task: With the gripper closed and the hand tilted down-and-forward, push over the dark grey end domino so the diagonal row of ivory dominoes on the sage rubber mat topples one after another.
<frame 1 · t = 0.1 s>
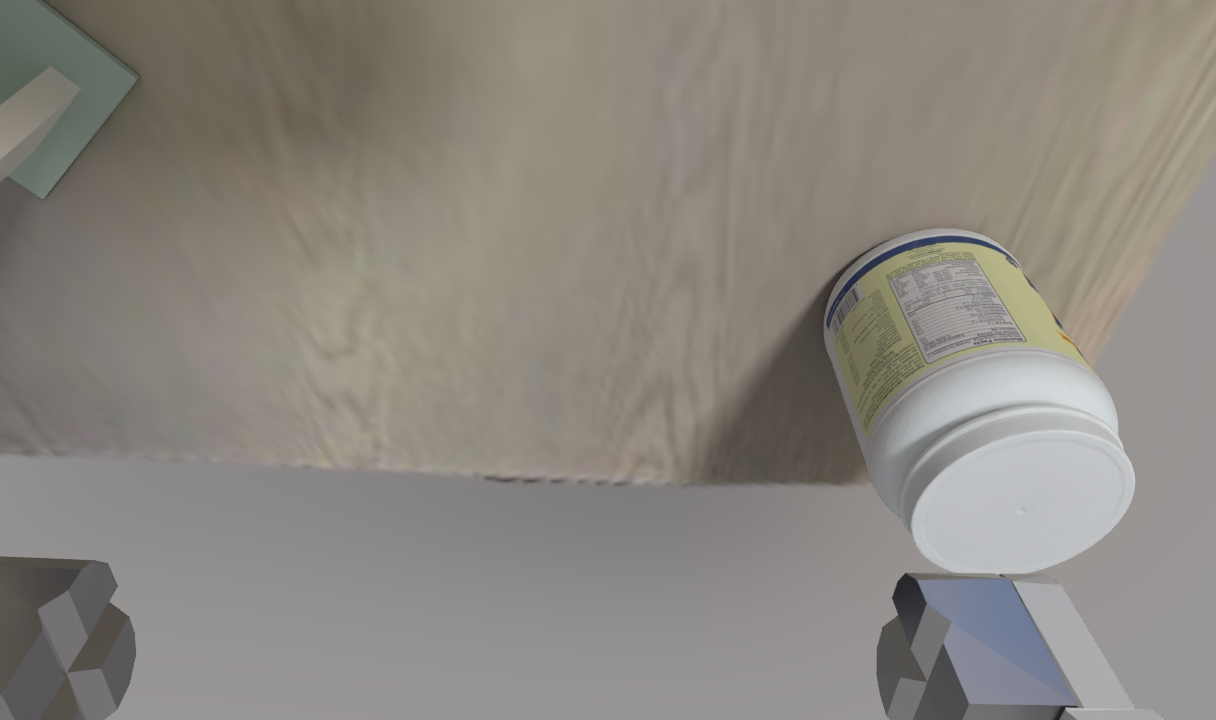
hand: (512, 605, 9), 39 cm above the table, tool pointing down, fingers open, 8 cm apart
domino 5: (42, 109, 46), resting on mat
supplement tub: (916, 302, 55), on the table
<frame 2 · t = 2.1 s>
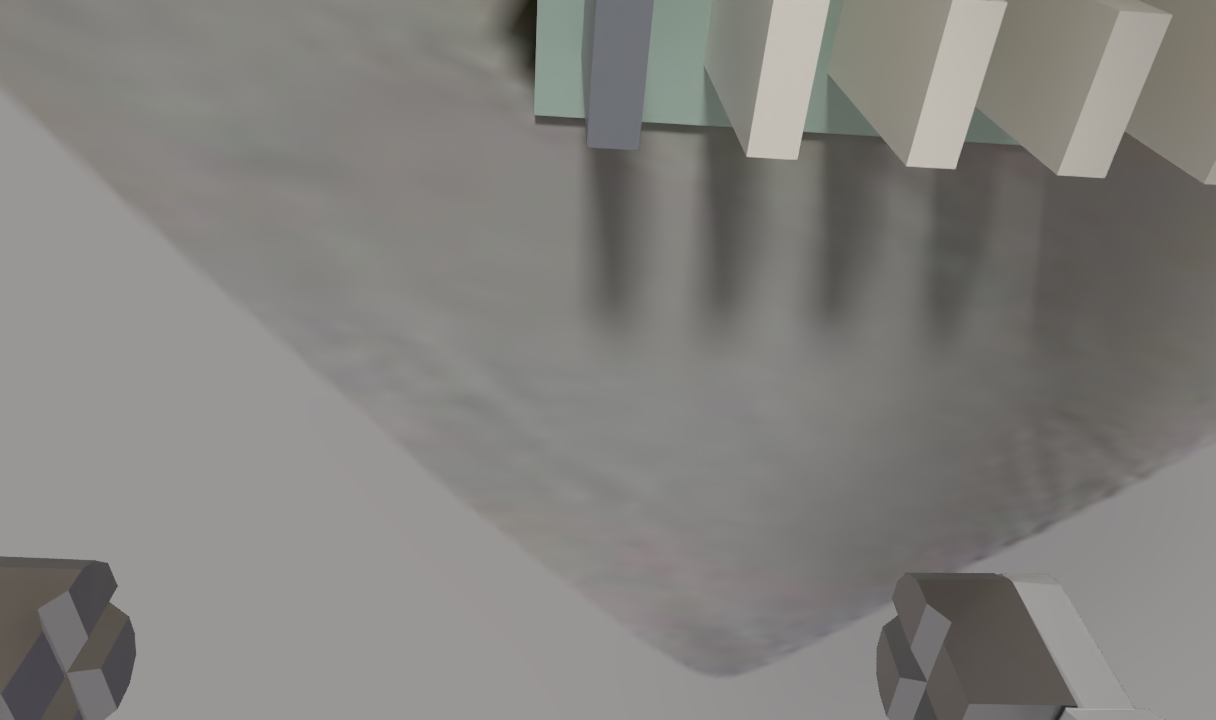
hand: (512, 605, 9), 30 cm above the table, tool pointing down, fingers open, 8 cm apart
domino 3: (861, 10, 35), resting on mat
domino 4: (982, 18, 35), resting on mat
domino 2: (733, 0, 34), resting on mat
domino 5: (1101, 27, 35), resting on mat
mat: (854, 7, 35), on the table
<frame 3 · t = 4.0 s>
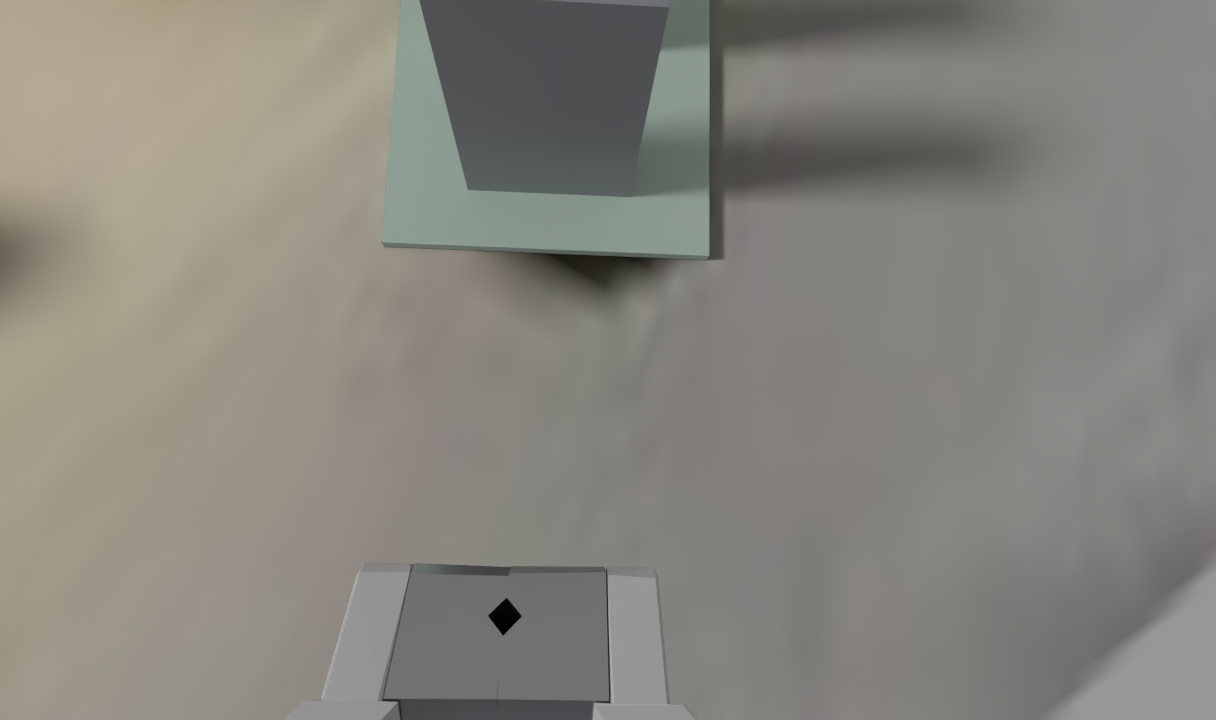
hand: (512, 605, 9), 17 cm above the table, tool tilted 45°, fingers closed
domino 1: (550, 169, 28), resting on mat
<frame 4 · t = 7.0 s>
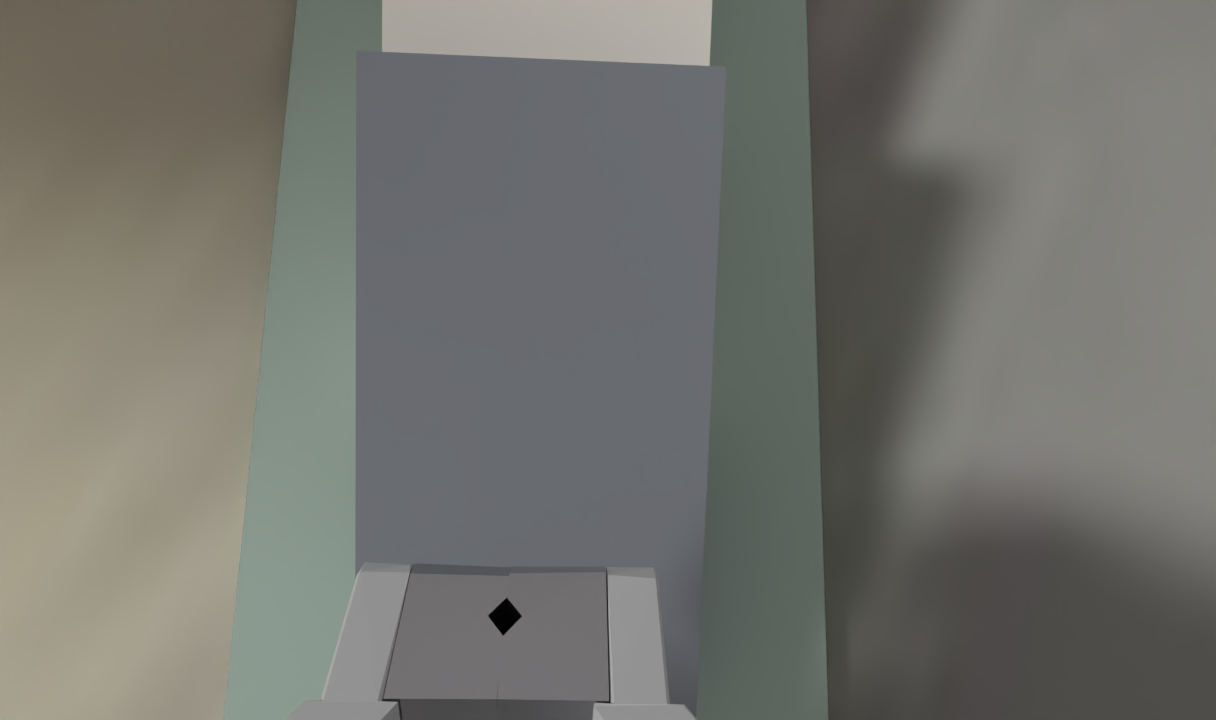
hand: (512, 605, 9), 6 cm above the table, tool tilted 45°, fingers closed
domino 2: (539, 417, 15), point 1 cm above the table, tilted 72°, touching domino 1, domino 3, mat
mat: (548, 218, 17), on the table
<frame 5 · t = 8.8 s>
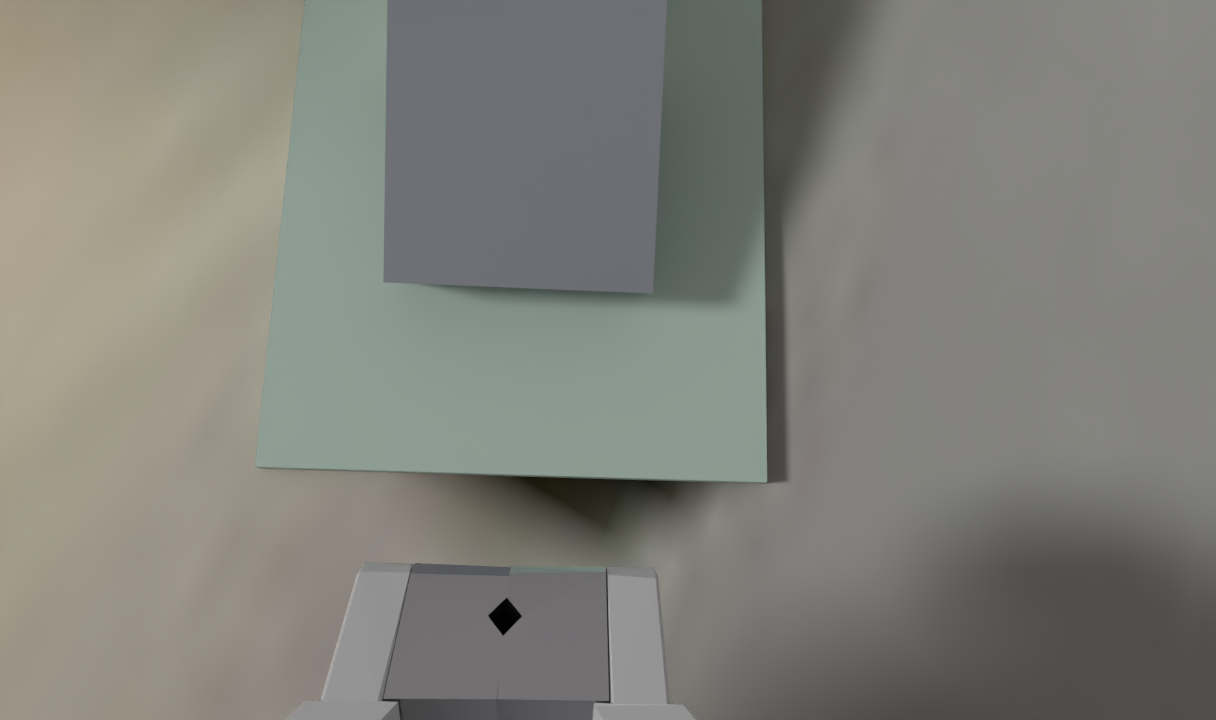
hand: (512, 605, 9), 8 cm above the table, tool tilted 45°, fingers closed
domino 1: (521, 286, 17), point 1 cm above the table, tilted 72°, touching domino 2
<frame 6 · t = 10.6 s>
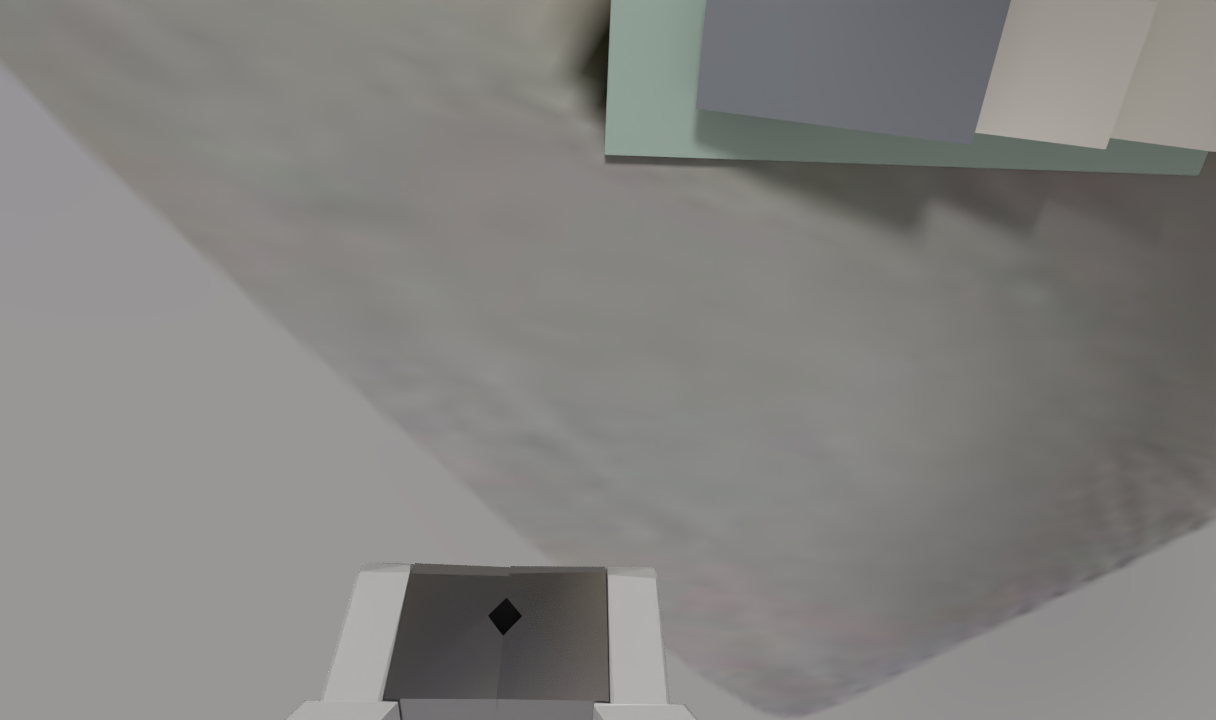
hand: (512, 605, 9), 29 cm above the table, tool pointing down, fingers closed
domino 3: (977, 46, 33), point 1 cm above the table, tilted 71°, touching domino 2, domino 4, mat
domino 1: (706, 35, 33), point 1 cm above the table, tilted 72°, touching domino 2
domino 2: (836, 40, 33), point 1 cm above the table, tilted 72°, touching domino 1, domino 3, mat
mat: (931, 37, 34), on the table
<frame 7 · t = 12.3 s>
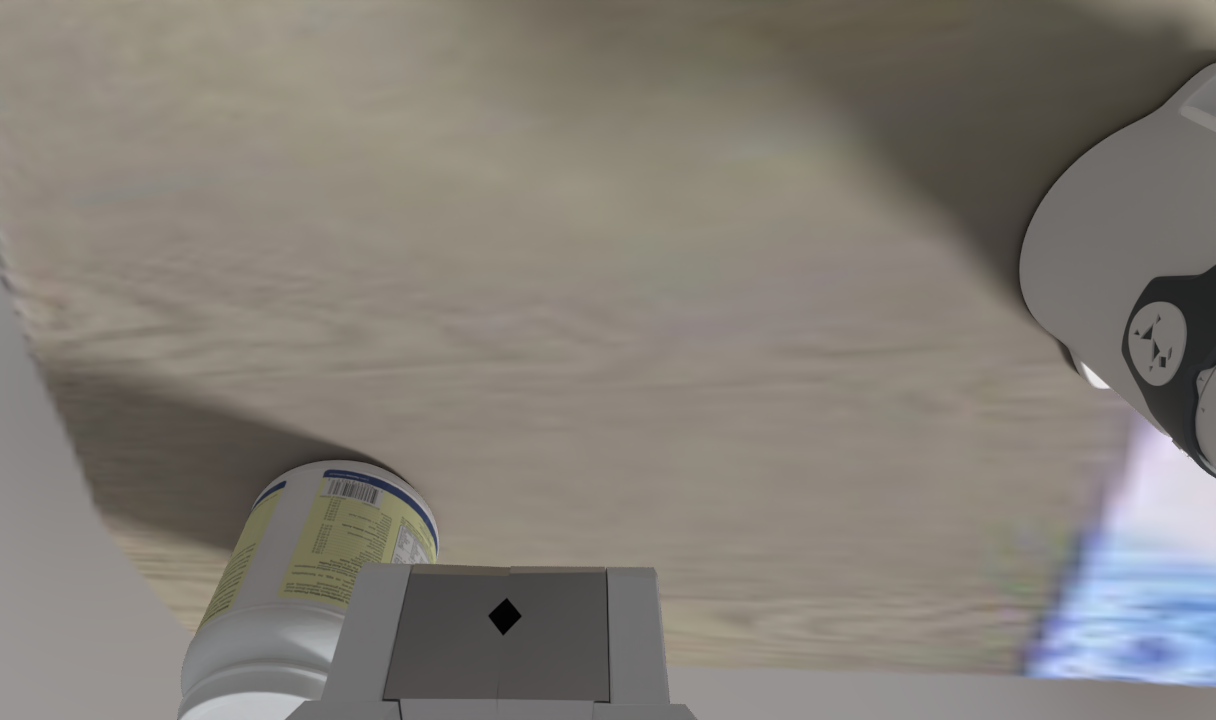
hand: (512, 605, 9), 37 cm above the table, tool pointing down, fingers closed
supplement tub: (350, 520, 59), on the table
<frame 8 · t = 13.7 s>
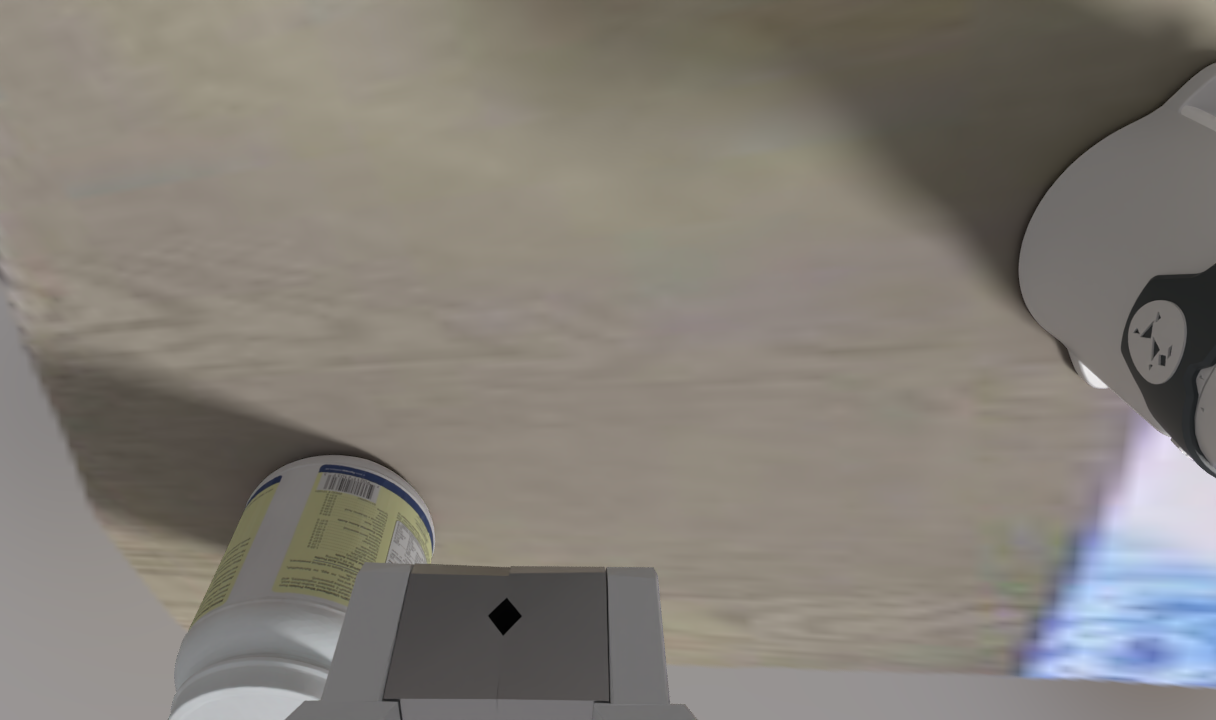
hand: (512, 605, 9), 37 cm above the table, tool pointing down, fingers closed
supplement tub: (346, 516, 59), on the table
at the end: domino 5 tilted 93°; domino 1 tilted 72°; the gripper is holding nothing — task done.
